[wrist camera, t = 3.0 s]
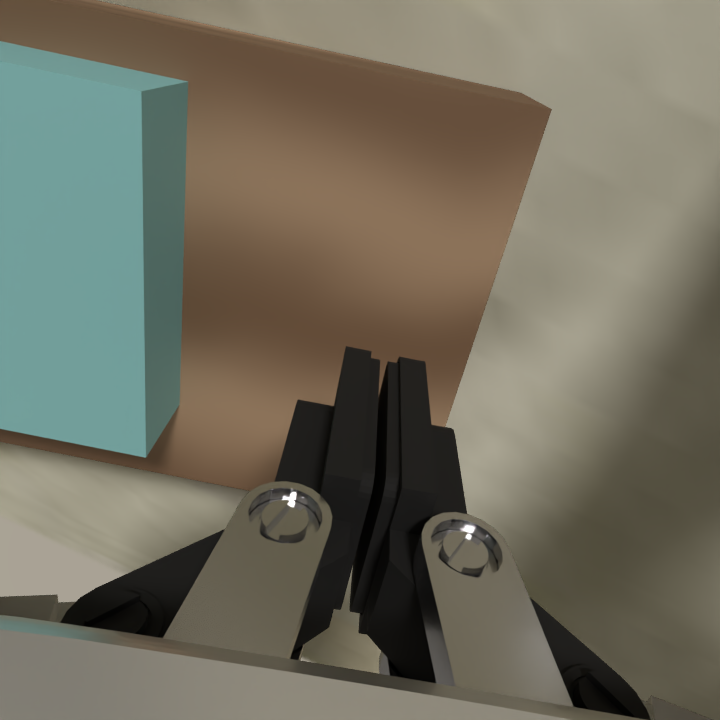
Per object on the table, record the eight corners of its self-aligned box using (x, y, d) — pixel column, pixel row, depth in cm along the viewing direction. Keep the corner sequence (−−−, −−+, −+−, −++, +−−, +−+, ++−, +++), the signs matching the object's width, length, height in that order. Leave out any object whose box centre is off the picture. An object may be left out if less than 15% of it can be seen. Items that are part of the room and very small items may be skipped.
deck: (-272, -80, 15) (-474, -114, 12) (521, 92, 16) (551, 109, 12) (-142, 336, 22) (-247, 392, 18) (412, 447, 22) (412, 523, 19)
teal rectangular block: (-80, 23, 12) (-185, 21, 10) (187, 81, 12) (141, 91, 10) (-17, 364, 17) (-80, 413, 15) (179, 404, 17) (145, 457, 15)
